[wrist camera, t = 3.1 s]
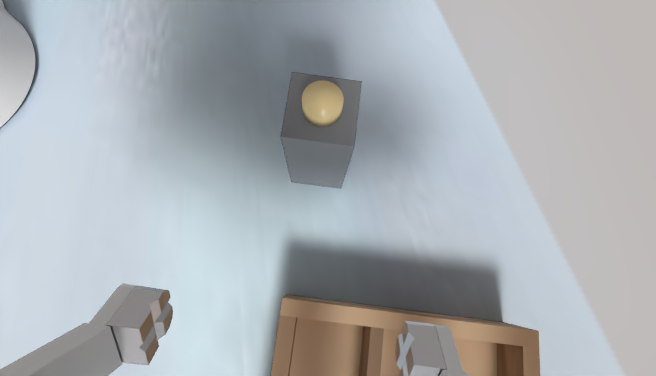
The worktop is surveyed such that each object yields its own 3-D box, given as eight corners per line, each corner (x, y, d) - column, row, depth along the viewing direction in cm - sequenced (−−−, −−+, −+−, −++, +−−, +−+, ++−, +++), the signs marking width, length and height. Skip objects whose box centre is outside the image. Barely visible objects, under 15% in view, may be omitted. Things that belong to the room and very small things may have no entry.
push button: (291, 181, 27) (278, 128, 17) (298, 135, 28) (290, 61, 18) (341, 188, 27) (356, 139, 17) (346, 142, 28) (364, 70, 18)
